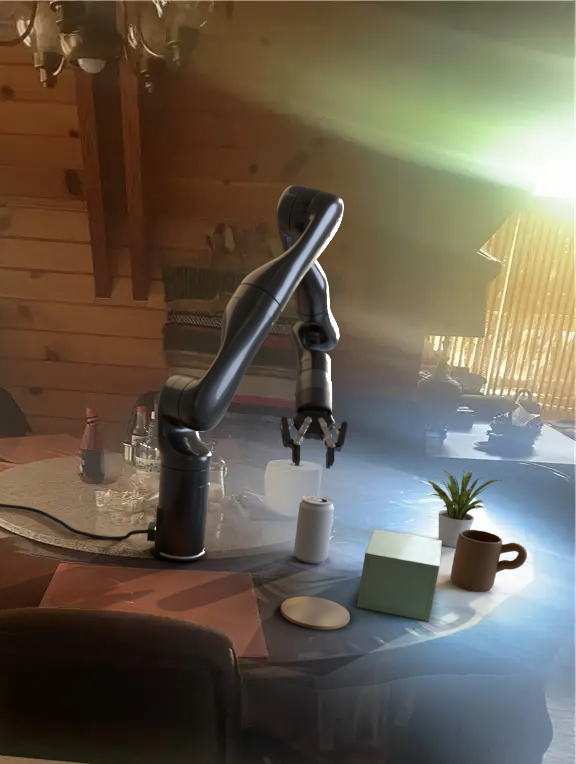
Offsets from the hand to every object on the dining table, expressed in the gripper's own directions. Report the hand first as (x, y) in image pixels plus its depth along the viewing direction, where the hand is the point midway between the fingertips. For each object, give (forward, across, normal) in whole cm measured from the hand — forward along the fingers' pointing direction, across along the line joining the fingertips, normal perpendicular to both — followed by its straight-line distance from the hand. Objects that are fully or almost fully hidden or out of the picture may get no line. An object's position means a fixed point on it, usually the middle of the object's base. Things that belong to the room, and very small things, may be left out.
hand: (313, 464), depth 151 cm
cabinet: (+30, +13, -8) cm, 34 cm away
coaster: (+37, -2, -14) cm, 40 cm away
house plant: (+7, +33, +15) cm, 37 cm away
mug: (+24, +31, -2) cm, 39 cm away
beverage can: (+19, 0, +3) cm, 19 cm away
